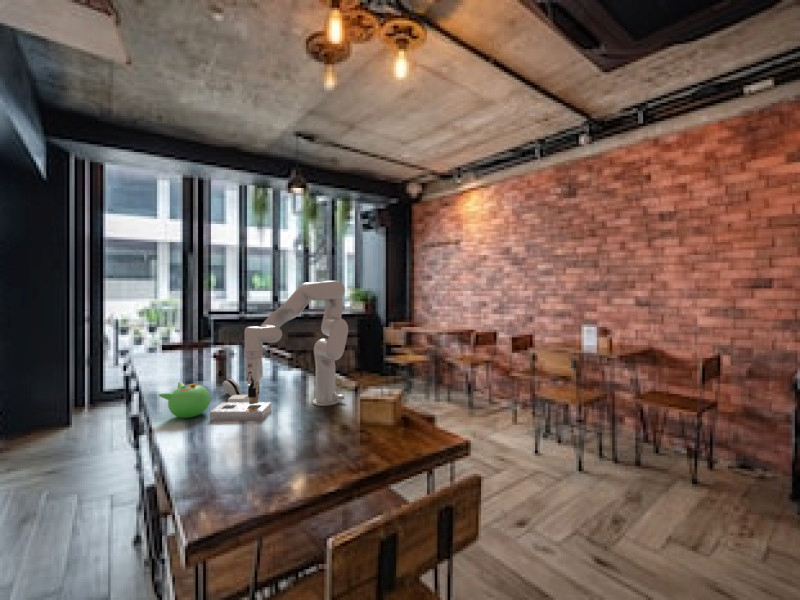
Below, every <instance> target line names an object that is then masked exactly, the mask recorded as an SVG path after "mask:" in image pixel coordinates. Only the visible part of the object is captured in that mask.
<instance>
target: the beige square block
mask: <svg viewBox="0 0 800 600" xmlns="http://www.w3.org/2000/svg"><path fill="white" fill-rule="evenodd" d="M237 402H249V397H248V394H244V395H233V396H229V398H228V399H227V403H237Z"/></svg>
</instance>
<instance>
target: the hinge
mask: <svg viewBox="0 0 800 600" xmlns="http://www.w3.org/2000/svg"><path fill="white" fill-rule="evenodd" d="M222 385H223V389H224V391H225V394H227V395H228V394H229V395H228V396H229V397H231V396H233V395H245V394H244V393H242V391H241V388H240V386H239V384H238V382H236V381H235V380H234V379H233V378H229V379H226V380H224V381H223V382H222Z"/></svg>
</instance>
